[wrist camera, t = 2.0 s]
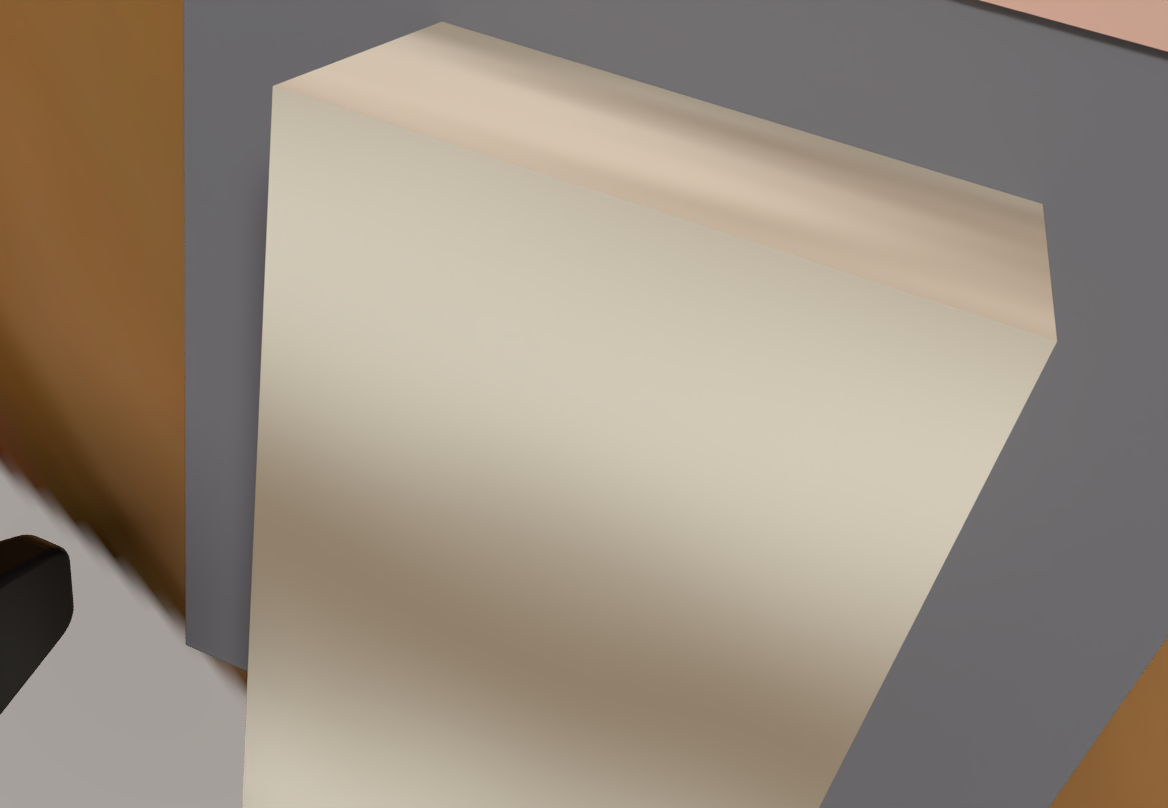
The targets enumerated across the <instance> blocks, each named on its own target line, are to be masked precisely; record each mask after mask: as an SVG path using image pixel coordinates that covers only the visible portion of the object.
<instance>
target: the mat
mask: <svg viewBox="0 0 1168 808" xmlns="http://www.w3.org/2000/svg"><path fill="white" fill-rule="evenodd" d="M440 22H445V23H448V24H452V25H455V26H458V27H462V28H465V29H468V30H471V31H475V32H478V33H481V34H485V35H488V36H491V37H494V38H498V39H501V40H504V41H508V42H511V43H514V44H517V45H521V46H524V47H527V48H531V49H534V50H537V51H540V52H544V53H547V54H550V55H554V56H557V57H560V58H564V59H567V60H570V61H573V62H577V63H580V64H583V65H587V66H590V67H593V68H596V69H600V70H603V71H606V72H610V73H613V74H616V75H619V76H623V77H626V78H629V79H633V80H636V81H639V82H642V83H646V84H649V85H652V86H656V87H659V88H662V89H666V90H669V91H672V92H675V93H679V94H682V95H685V96H689V97H692V98H695V99H698V100H702V101H705V102H708V103H712V104H715V105H718V106H721V107H725V108H728V109H731V110H735V111H738V112H741V113H744V114H748V115H751V116H754V117H758V118H761V119H764V120H768V121H771V122H774V123H777V124H781V125H784V126H787V127H791V128H794V129H797V130H800V131H804V132H807V133H810V134H814V135H817V136H820V137H823V138H827V139H830V140H833V141H837V142H840V143H843V144H847V145H850V146H853V147H856V148H860V149H863V150H866V151H870V152H873V153H876V154H879V155H883V156H886V157H889V158H893V159H896V160H899V161H902V162H906V163H909V164H912V165H916V166H919V167H922V168H925V169H929V170H932V171H935V172H939V173H942V174H945V175H949V176H952V177H955V178H958V179H962V180H965V181H968V182H972V183H975V184H978V185H981V186H985V187H988V188H991V189H995V190H998V191H1001V192H1004V193H1008V194H1011V195H1014V196H1018V197H1021V198H1024V199H1027V200H1031V201H1034V202H1037V203H1041V204H1043V212H1044V221H1045V231H1046V240H1047V250H1048V259H1049V269H1050V278H1051V288H1052V297H1053V307H1054V316H1055V326H1056V335H1057V343H1056V345H1055V346H1054V348H1053V350H1052V352H1051V354H1050V356H1049V358H1048V360H1047V362H1046V364H1045V366H1044V368H1043V370H1042V372H1041V374H1040V376H1039V378H1038V380H1037V382H1036V384H1035V386H1034V388H1033V390H1032V392H1031V393H1030V395H1029V397H1028V399H1027V401H1026V403H1025V405H1024V407H1023V409H1022V411H1021V413H1020V415H1019V417H1018V419H1017V421H1016V423H1015V425H1014V427H1013V429H1012V431H1011V433H1010V435H1009V437H1008V439H1007V440H1006V442H1005V444H1004V446H1003V448H1002V450H1001V452H1000V454H999V456H998V458H997V460H996V462H995V464H994V466H993V468H992V470H991V472H990V474H989V476H988V478H987V480H986V482H985V484H984V486H983V487H982V489H981V491H980V493H979V495H978V497H977V499H976V501H975V503H974V505H973V507H972V509H971V511H970V513H969V515H968V517H967V519H966V521H965V523H964V525H963V527H962V529H961V531H960V533H959V534H958V536H957V538H956V540H955V542H954V544H953V546H952V548H951V550H950V552H949V554H948V556H947V558H946V560H945V562H944V564H943V566H942V568H941V570H940V572H939V574H938V576H937V578H936V580H935V581H934V583H933V585H932V587H931V589H930V591H929V593H928V595H927V597H926V599H925V601H924V603H923V605H922V607H921V609H920V611H919V613H918V615H917V617H916V619H915V621H914V623H913V625H912V627H911V628H910V630H909V632H908V634H907V636H906V638H905V640H904V642H903V644H902V646H901V648H900V650H899V652H898V654H897V656H896V658H895V660H894V662H893V664H892V666H891V668H890V670H889V672H888V674H887V675H886V677H885V679H884V681H883V683H882V685H881V687H880V689H879V691H878V693H877V695H876V697H875V699H874V701H873V703H872V705H871V707H870V709H869V711H868V713H867V715H866V717H865V719H864V721H863V722H862V724H861V726H860V728H859V730H858V732H857V734H856V736H855V738H854V740H853V742H852V744H851V746H850V748H849V750H848V752H847V754H846V756H845V758H844V760H843V762H842V764H841V766H840V768H839V769H838V771H837V773H836V775H835V777H834V779H833V781H832V783H831V785H830V787H829V789H828V791H827V793H826V795H825V797H824V799H823V801H822V803H821V805H820V807H819V808H1049V806H1050V805H1051V804H1052V802H1053V801H1054V799H1055V798H1056V796H1057V795H1058V793H1059V792H1060V791H1061V789H1062V788H1063V786H1064V785H1065V783H1066V782H1067V781H1068V779H1069V778H1070V776H1071V775H1072V773H1073V772H1074V771H1075V769H1076V768H1077V766H1078V765H1079V763H1080V762H1081V760H1082V759H1083V758H1084V756H1085V755H1086V753H1087V752H1088V750H1089V749H1090V748H1091V746H1092V745H1093V743H1094V742H1095V740H1096V739H1097V738H1098V736H1099V735H1100V733H1101V732H1102V730H1103V729H1104V727H1105V726H1106V725H1107V723H1108V722H1109V720H1110V719H1111V717H1112V716H1113V715H1114V713H1115V712H1116V710H1117V709H1118V707H1119V706H1120V704H1121V703H1122V702H1123V700H1124V699H1125V697H1126V696H1127V694H1128V693H1129V692H1130V690H1131V689H1132V687H1133V686H1134V684H1135V683H1136V682H1137V680H1138V679H1139V677H1140V676H1141V674H1142V673H1143V671H1144V670H1145V669H1146V667H1147V666H1148V664H1149V663H1150V661H1151V660H1152V659H1153V657H1154V656H1155V654H1156V653H1157V651H1158V650H1159V649H1160V647H1161V646H1162V644H1163V643H1164V641H1165V640H1166V638H1167V637H1168V0H184V163H185V549H186V645H188V646H190V647H192V648H195V649H197V650H199V651H201V652H204V653H206V654H208V655H211V656H213V657H215V658H217V659H220V660H222V661H224V662H227V663H229V664H231V665H233V666H236V667H238V668H240V669H243V670H245V671H247V672H248V655H249V632H250V608H251V585H252V561H253V538H254V515H255V491H256V468H257V444H258V421H259V397H260V374H261V351H262V327H263V304H264V280H265V257H266V233H267V210H268V187H269V163H270V140H271V116H272V93H273V86H274V85H277V84H279V83H282V82H285V81H287V80H290V79H293V78H295V77H298V76H300V75H303V74H306V73H308V72H311V71H314V70H316V69H319V68H321V67H324V66H327V65H329V64H332V63H335V62H337V61H340V60H343V59H345V58H348V57H350V56H353V55H356V54H358V53H361V52H364V51H366V50H369V49H371V48H374V47H377V46H379V45H382V44H385V43H387V42H390V41H392V40H395V39H398V38H400V37H403V36H406V35H408V34H411V33H414V32H416V31H419V30H421V29H424V28H427V27H429V26H432V25H435V24H437V23H440Z"/></svg>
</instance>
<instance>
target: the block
mask: <svg viewBox="0 0 1168 808" xmlns="http://www.w3.org/2000/svg"><path fill="white" fill-rule="evenodd" d="M1056 343H1057V335H1056V326H1055V316H1054V307H1053V297H1052V288H1051V278H1050V269H1049V259H1048V250H1047V240H1046V231H1045V221H1044V212H1043V204H1041V203H1037V202H1034V201H1031V200H1027V199H1024V198H1021V197H1018V196H1014V195H1011V194H1008V193H1004V192H1001V191H998V190H995V189H991V188H988V187H985V186H981V185H978V184H975V183H972V182H968V181H965V180H962V179H958V178H955V177H952V176H949V175H945V174H942V173H939V172H935V171H932V170H929V169H925V168H922V167H919V166H916V165H912V164H909V163H906V162H902V161H899V160H896V159H893V158H889V157H886V156H883V155H879V154H876V153H873V152H870V151H866V150H863V149H860V148H856V147H853V146H850V145H847V144H843V143H840V142H837V141H833V140H830V139H827V138H823V137H820V136H817V135H814V134H810V133H807V132H804V131H800V130H797V129H794V128H791V127H787V126H784V125H781V124H777V123H774V122H771V121H768V120H764V119H761V118H758V117H754V116H751V115H748V114H744V113H741V112H738V111H735V110H731V109H728V108H725V107H721V106H718V105H715V104H712V103H708V102H705V101H702V100H698V99H695V98H692V97H689V96H685V95H682V94H679V93H675V92H672V91H669V90H666V89H662V88H659V87H656V86H652V85H649V84H646V83H642V82H639V81H636V80H633V79H629V78H626V77H623V76H619V75H616V74H613V73H610V72H606V71H603V70H600V69H596V68H593V67H590V66H587V65H583V64H580V63H577V62H573V61H570V60H567V59H564V58H560V57H557V56H554V55H550V54H547V53H544V52H540V51H537V50H534V49H531V48H527V47H524V46H521V45H517V44H514V43H511V42H508V41H504V40H501V39H498V38H494V37H491V36H488V35H485V34H481V33H478V32H475V31H471V30H468V29H465V28H462V27H458V26H455V25H452V24H448V23H445V22H440V23H437V24H435V25H432V26H429V27H427V28H424V29H421V30H419V31H416V32H414V33H411V34H408V35H406V36H403V37H400V38H398V39H395V40H392V41H390V42H387V43H385V44H382V45H379V46H377V47H374V48H371V49H369V50H366V51H364V52H361V53H358V54H356V55H353V56H350V57H348V58H345V59H343V60H340V61H337V62H335V63H332V64H329V65H327V66H324V67H321V68H319V69H316V70H314V71H311V72H308V73H306V74H303V75H300V76H298V77H295V78H293V79H290V80H287V81H285V82H282V83H279V84H277V85H274V86H273V93H272V116H271V140H270V163H269V187H268V210H267V233H266V257H265V280H264V304H263V327H262V351H261V374H260V397H259V421H258V444H257V468H256V491H255V515H254V538H253V561H252V585H251V608H250V632H249V655H248V679H247V702H246V725H245V750H244V772H243V773H244V774H243V796H242V798H243V799H242V808H819V807H820V805H821V803H822V801H823V799H824V797H825V795H826V793H827V791H828V789H829V787H830V785H831V783H832V781H833V779H834V777H835V775H836V773H837V771H838V769H839V768H840V766H841V764H842V762H843V760H844V758H845V756H846V754H847V752H848V750H849V748H850V746H851V744H852V742H853V740H854V738H855V736H856V734H857V732H858V730H859V728H860V726H861V724H862V722H863V721H864V719H865V717H866V715H867V713H868V711H869V709H870V707H871V705H872V703H873V701H874V699H875V697H876V695H877V693H878V691H879V689H880V687H881V685H882V683H883V681H884V679H885V677H886V675H887V674H888V672H889V670H890V668H891V666H892V664H893V662H894V660H895V658H896V656H897V654H898V652H899V650H900V648H901V646H902V644H903V642H904V640H905V638H906V636H907V634H908V632H909V630H910V628H911V627H912V625H913V623H914V621H915V619H916V617H917V615H918V613H919V611H920V609H921V607H922V605H923V603H924V601H925V599H926V597H927V595H928V593H929V591H930V589H931V587H932V585H933V583H934V581H935V580H936V578H937V576H938V574H939V572H940V570H941V568H942V566H943V564H944V562H945V560H946V558H947V556H948V554H949V552H950V550H951V548H952V546H953V544H954V542H955V540H956V538H957V536H958V534H959V533H960V531H961V529H962V527H963V525H964V523H965V521H966V519H967V517H968V515H969V513H970V511H971V509H972V507H973V505H974V503H975V501H976V499H977V497H978V495H979V493H980V491H981V489H982V487H983V486H984V484H985V482H986V480H987V478H988V476H989V474H990V472H991V470H992V468H993V466H994V464H995V462H996V460H997V458H998V456H999V454H1000V452H1001V450H1002V448H1003V446H1004V444H1005V442H1006V440H1007V439H1008V437H1009V435H1010V433H1011V431H1012V429H1013V427H1014V425H1015V423H1016V421H1017V419H1018V417H1019V415H1020V413H1021V411H1022V409H1023V407H1024V405H1025V403H1026V401H1027V399H1028V397H1029V395H1030V393H1031V392H1032V390H1033V388H1034V386H1035V384H1036V382H1037V380H1038V378H1039V376H1040V374H1041V372H1042V370H1043V368H1044V366H1045V364H1046V362H1047V360H1048V358H1049V356H1050V354H1051V352H1052V350H1053V348H1054V346H1055V345H1056Z"/></svg>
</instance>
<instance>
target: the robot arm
mask: <svg viewBox="0 0 1168 808" xmlns="http://www.w3.org/2000/svg"><path fill="white" fill-rule="evenodd" d="M72 614H73V594H72V582H71V570H70V560H69V555H68V554H67V552H66V551H65V549H63V548H62V547H60V546H58V545H55V544H53V543H51V542H48V541H46V540H44V539H41V538H39V537H36V536H33V535H21V536H17V537H13V538H10V539H6V540H3V541H0V714H1V713H2V712H3V710H4V709H5V708H6V707H7V705H8V704H9V703H10V702H11V700H12V699H13V697H14V696H15V695H16V694H17V693H18V691H19V690H20V689H21V688H22V686H23V685H24V684H25V683H26V681H27V680H28V678H29V677H30V676H31V675H32V674H33V672H34V671H35V670H36V669H37V667H38V666H39V665H40V663H41V662H42V661H43V660H44V658H45V657H46V656H47V655H48V653H49V652H50V651H51V649H52V648H53V647H54V646H55V644H56V643H57V642H58V641H59V639H60V638H61V636H62V635H63V634H64V632H65V631H66V629H67V627H68V626H69V623H70V621H71V618H72Z"/></svg>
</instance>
